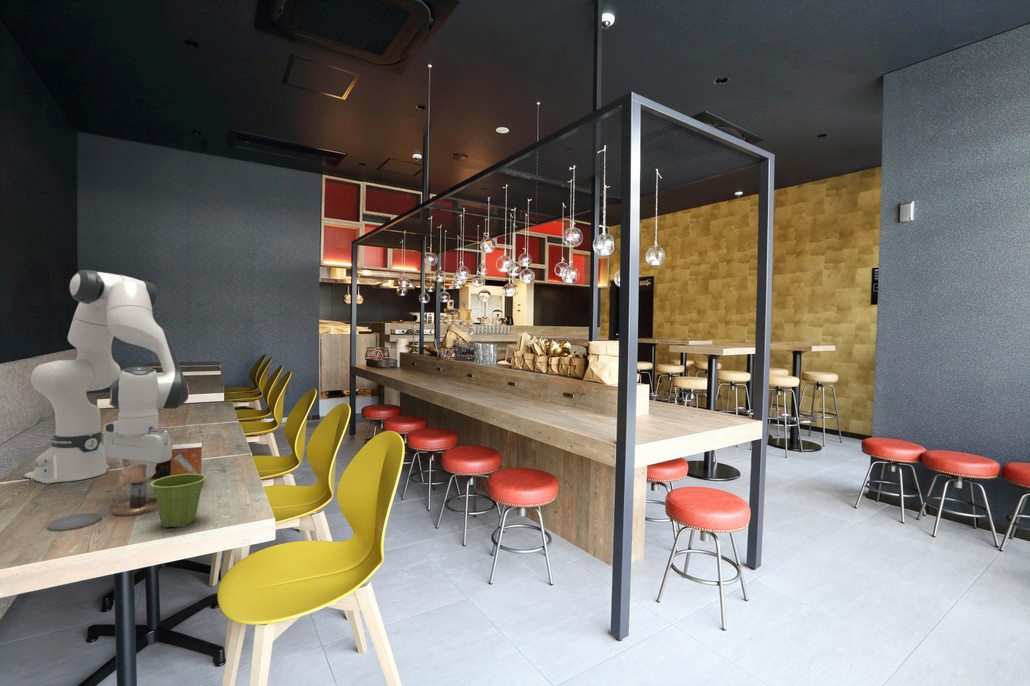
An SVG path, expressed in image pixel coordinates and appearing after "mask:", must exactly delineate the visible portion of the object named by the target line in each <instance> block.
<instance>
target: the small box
mask: <svg viewBox="0 0 1030 686" xmlns="http://www.w3.org/2000/svg"><path fill="white" fill-rule="evenodd" d="M171 445H172V444H171ZM202 457H203V443H202V442H196V443H195V442H194V443H183V444H182V445H172V457H171V476H173V475H180V474H202V470H203V469H202V462H203V461H202V460H203V459H202Z"/></svg>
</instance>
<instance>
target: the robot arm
mask: <svg viewBox="0 0 1030 686" xmlns="http://www.w3.org/2000/svg"><path fill="white" fill-rule="evenodd" d="M69 292H70V293H69V294H70V296H71V297H72V298H73V300H75V301H77V302H79V303H78V305H77V307H76V309H75V312H74V315H73V317H72V321H71V324H70V328H69V330H68V331H69V332H68V334H67V341H68V342H69V344H70V345H71V346H73V347H74V348H76V351H77V354H76V355H77V356H76V358H75V359H65V360H64V359H61V360H60V359H59V360H53V361H49V362H46V363H42V364H38V365H37V366H36V367H35V368H34V369H33V371H32V373H31V375H30V382H31V386H32V387H33V388H34V390H36V391H37V392H38V393H40V394H42V395H43V396H44V397H46V398H47V400H48V401H49V403H50V404H51V406H52V408H53V411H54V420H55V421H54V422H55V435H52V436H50V437H49V438H51V439H49V440H50V441H51V443H50V447H49V448H48V449H47V450H45V451H44V452H43V453H42V454H40V455H39V456H37V458H35V462H34V470H32V471H29V472H26V473H24V478H26V477H27V478H26V479H29V478H31V479H30V480H32V479H34V480H33V481H35V480H36V481H35V482H38V481H39V483H41V482H42V483H41V484H44V483H46V484H53V483H60V482H61V483H62V482H72V481H80V480H85V479H90V478H91V479H92V478H95V477H98V476H101V475H104V474H105V473H107V470H108V469H109V470H110V465H109V464H107V460H106V459H107V458H113V459H118V463H119V465H120V467H121V469H122V471H121V472H122V475H124V466H126V465H129V464H131V463H130V461H138V462H146V465H148V466H147V468H146V470H145V471H143V477H148V478H149V477H152V476H153V472H154V469H155V467H156V465H157V463H162V462H166V461H169V460H170V459H171V457H172V447H171V445H172V440H171V437H170V434H169V432H168V431H167V430H166V428H164V427H159V415H160V413H159V409H169V410H170V409H177V408H180V407H181V406H182V405H184V404H185V403H186V402H187V401H188V399H189V396H190V395H189V394H190V393H189V391H190V390H189V385H188V383H187V380H186V378H185V375H184V374H183V371H182V368H181V366H180V362H179V359H178V357H177V354H176V351H175V348H174V344H173V342H172V340H171V336H170V334H169V333H168V331H167V330H166V329H164V328H162V327H161V326H160V325H159V324H158V323H157V322H156V321H155V320H156V319H154V315H153V314H154V313H153V308H154V307H155V306H156V304H157V301H158V296H159V295H158V294H159V293H158V289H157V287H156V286H155V284H153V283H152V282H149V281H147V280H139V279H138V278H133V277H130V276H126V275H123V274H114V273H110V272H102V271H96V270H91V269H81V270H79V271H76V273H74V275H73V276H72V278H71V279H70V283H69ZM114 338H116V339H119V340H120V341H121V342H124V343H127V344H131V345H135V346H139V347H142V348H144V349H148V350H150V351H152V352H154V353H155V354H156V355H157V357H158V361H159V362H160V365H161V369H162V372H163V375H158V374H157V371H156V369H154V367H153V368H152V367H147V366H130V367H126V368H123V369H122V370H121V368H120V365H119V364H118V363H117V362H116V361H115V360H114V358H113V354H112V344H113V340H114ZM106 388H109V389H110V398H109V403H108V405H110V406H111V407H113V408H115V409H116V410H119V412H118V414H117V420H114V421H112V422H108V423H105V424H104V425H103V432H104V433H105V434H104V435H103V432H102V430H101V413H102V412H101V409H100V407H98V406H97V405H96V404H93V403H91V401H89V399H88V396H87V392H91V391H92V392H94V391H100V390H104V389H106ZM102 442H103V444H102Z"/></svg>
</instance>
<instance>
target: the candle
mask: <svg viewBox="0 0 1030 686" xmlns="http://www.w3.org/2000/svg"><path fill="white" fill-rule="evenodd" d="M182 444H184V442H183V443H181V442H177V443H171V447H172V445H182ZM155 469H156V473H155V474H153V476H152V477H151V479H153V478H155V479H154V480H157V479H160V478H163V477H167V476H171V459H170V460H169V461H166V462H162V463H157V465H156V467H155Z"/></svg>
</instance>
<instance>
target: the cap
mask: <svg viewBox="0 0 1030 686" xmlns="http://www.w3.org/2000/svg"><path fill="white" fill-rule="evenodd" d="M147 466H148V465H146V462H145V461H139V462H134V463H130V464H129V465H126V466H124V474H123V475H122V476H119V477H118V483H121V484H123V483H126V484H130V483H137V482H143V481H146V482H147V481H150V480H151V479H152V478H151V477H149V478H148V477H143V471H145V470H146V468H147ZM155 473H156V469H154V472H153V474H155Z"/></svg>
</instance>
